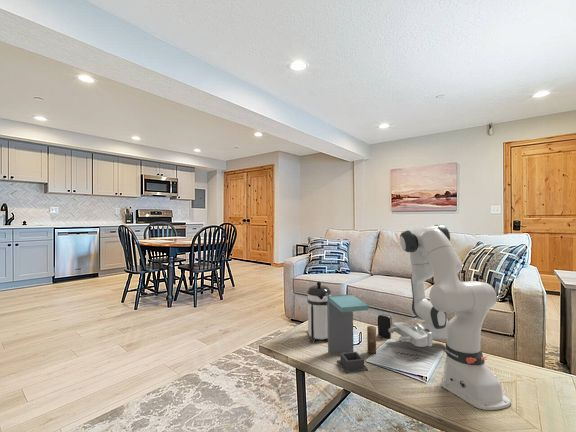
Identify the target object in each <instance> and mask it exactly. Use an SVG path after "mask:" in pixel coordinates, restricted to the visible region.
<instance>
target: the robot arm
mask: <svg viewBox="0 0 576 432" xmlns="http://www.w3.org/2000/svg"><path fill="white" fill-rule="evenodd" d="M399 245H400V246H401V248H402V249H403V251H404V252H406V253H409V259H410V263H411V273H410V283H411V284H410V285H411V295H412V302H411V311H412V313H413V315H414V316H415V317H417V318H420V319H422V320H424V321H423V322H421V321H420V322H414V323H412V325H410V324H409V323H407V322H404V321H403V322H392V327H391V329H389V333H391V334H394V333H397V334H398V335H399V337H398V338H399V341H401V342H405V343H411V344H412V345H414V346H415V347H418V348H419V347H432V346H433V341H442V340H445V339H446V343H445V347H444V348H445V354H446V358H445V361H444V366H443V367H444V368H443V374H442V381H441V384H440V386H441V387H442V388H444V389H445V390H447V391H449V392H450V393H452V394H454V395H455V396H457V397H459V398H460V399H461V400H463V401H465V402H467V403H468V404H470V405H471V406H473V407H475V408H477V409H480V410H484V411H485V410H486V411H495V410H502V409H506V408H508V407H510V405H511V404H512V401H511V399H510V398H509V397H508V396H507V395H505V394H504V393H503V388H502V387H503V386H502V384H501V381H500V380H499V379H498V376H497V375H496V374H494V373H493V372H492V369H490V368H489V366H488V365H487V364H486V361H485V360H488V356H485V355H484V354H483V351H482V348H481V335H482V333H481V332H482V326H483V324H484V320H485V319H486V316H487V314H488V313H489V311H490V310H491V309H492V308H493V307H494V306H495V305H496V303H497V299H498V296H497V292H496V289H495V288H494V287H493V286H492V285H491V284H489V283H487V282H484V281H483V282H482V281H475V280H471V281H469V280H468V281H461V280H460V278H459V276H458V273H460V271H461V270H462V267H463V263H462V261H461V258H460V256H459V255H458V253H457V252H456V249H455V248H454V245H452V242H451V235H450V231H449V229H448V228H447V227H446V226H445V225H444V224H434V225H428V226H423V227H422V226H420V227H416V228H413V229H409V230H408V229H407V230H405V231H402V232H401V234H399ZM433 277H434V282H433V286H432V287H431V288H430V290H429V295H428V296H429V300H428V298H427V296H426V292H425V291H426V289H425V282H426V280H429V279H431V278H433ZM447 313H450V314H453V313H454V316H453V317H452V318H451V319H450V320H448V316H447V315H448V314H447Z"/></svg>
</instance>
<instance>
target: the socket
mask: <svg viewBox="0 0 576 432" xmlns="http://www.w3.org/2000/svg"><path fill="white" fill-rule="evenodd" d="M339 354H340V359H337V360H336V363H337V364H338V365H339V366H340V368H341V369H342V370H343V372H344V373H345V374H350V373H351V374H352V373H361V372H368V371H369V368H368V367H367V366H366V365H365V359H364V358H363V357H362V356H361V355H360V353H359V352H358V351H353V352H348V353H339Z"/></svg>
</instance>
